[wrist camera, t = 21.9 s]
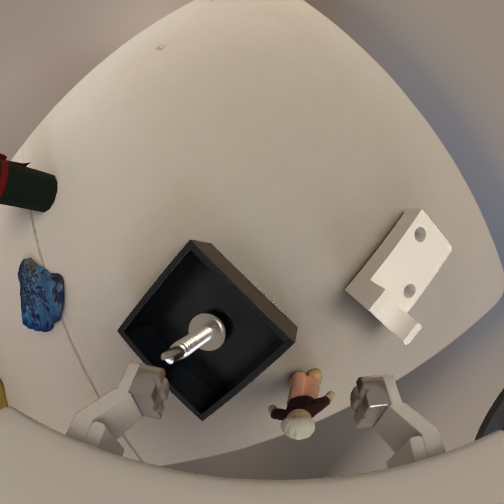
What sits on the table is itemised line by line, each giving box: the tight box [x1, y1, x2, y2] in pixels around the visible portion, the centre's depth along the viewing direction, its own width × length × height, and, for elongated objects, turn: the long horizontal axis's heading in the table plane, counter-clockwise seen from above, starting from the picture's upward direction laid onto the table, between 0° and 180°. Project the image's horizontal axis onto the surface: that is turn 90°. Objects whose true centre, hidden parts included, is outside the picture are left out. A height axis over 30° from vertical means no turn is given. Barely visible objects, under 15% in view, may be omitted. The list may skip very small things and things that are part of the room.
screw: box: [161, 313, 226, 364], centre depth 29 cm, size 13×5×5 cm
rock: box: [18, 258, 63, 332], centre depth 43 cm, size 15×17×2 cm
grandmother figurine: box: [268, 369, 335, 440], centre depth 28 cm, size 8×4×13 cm, turn 119°
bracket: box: [345, 209, 453, 345], centre depth 29 cm, size 13×7×8 cm, turn 139°
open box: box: [117, 240, 298, 421], centre depth 33 cm, size 16×16×7 cm
